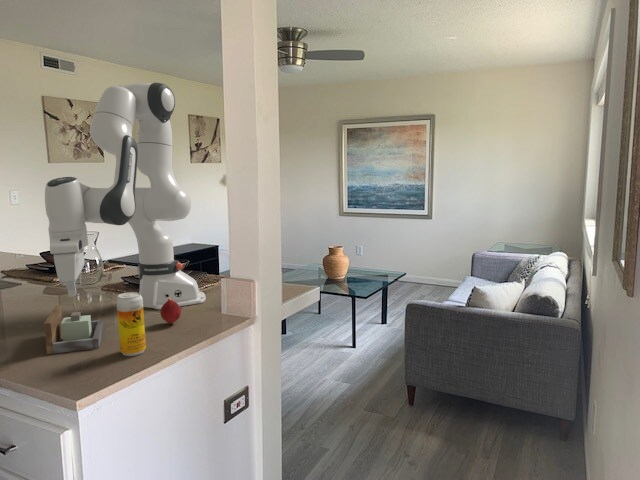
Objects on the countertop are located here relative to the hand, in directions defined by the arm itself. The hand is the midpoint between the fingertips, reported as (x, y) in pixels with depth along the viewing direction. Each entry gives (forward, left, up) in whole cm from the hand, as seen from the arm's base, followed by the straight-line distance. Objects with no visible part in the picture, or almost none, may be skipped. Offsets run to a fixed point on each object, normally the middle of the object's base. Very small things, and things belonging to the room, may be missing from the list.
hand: (75, 290), depth 130 cm
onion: (-24, -4, -14) cm, 28 cm away
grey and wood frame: (0, +1, -14) cm, 14 cm away
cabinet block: (0, 0, -14) cm, 14 cm away
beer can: (-14, +15, -14) cm, 24 cm away
